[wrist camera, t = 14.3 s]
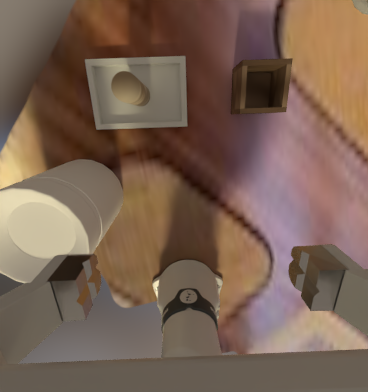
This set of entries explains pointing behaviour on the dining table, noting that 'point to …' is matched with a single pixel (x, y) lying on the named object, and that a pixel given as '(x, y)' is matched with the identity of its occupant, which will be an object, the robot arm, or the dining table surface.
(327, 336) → the dining table surface
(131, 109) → the tray
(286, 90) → the pen pot
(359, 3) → the french press
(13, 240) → the canister
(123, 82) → the dowel
